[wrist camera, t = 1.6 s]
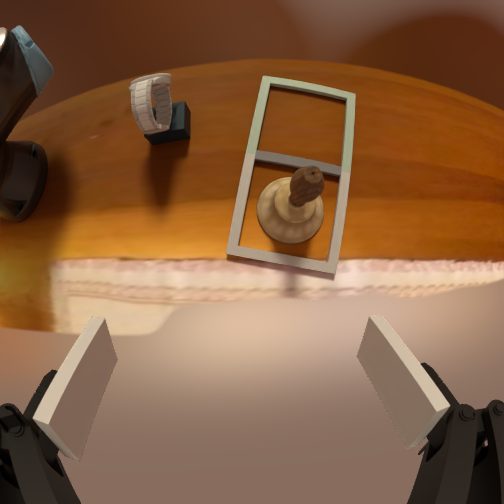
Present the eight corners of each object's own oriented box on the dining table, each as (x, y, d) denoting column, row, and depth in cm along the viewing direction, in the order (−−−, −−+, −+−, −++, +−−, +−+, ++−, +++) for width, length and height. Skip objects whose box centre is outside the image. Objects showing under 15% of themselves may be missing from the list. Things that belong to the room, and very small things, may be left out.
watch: (190, 101, 34) (167, 55, 23) (190, 149, 34) (162, 110, 23) (154, 108, 35) (123, 67, 24) (151, 156, 34) (113, 123, 23)
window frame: (226, 253, 34) (225, 253, 33) (263, 78, 34) (263, 75, 33) (334, 273, 33) (335, 274, 32) (353, 96, 33) (355, 94, 32)
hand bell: (336, 205, 33) (388, 165, 17) (297, 257, 33) (324, 258, 17) (284, 165, 34) (296, 97, 18) (243, 215, 34) (223, 180, 18)
